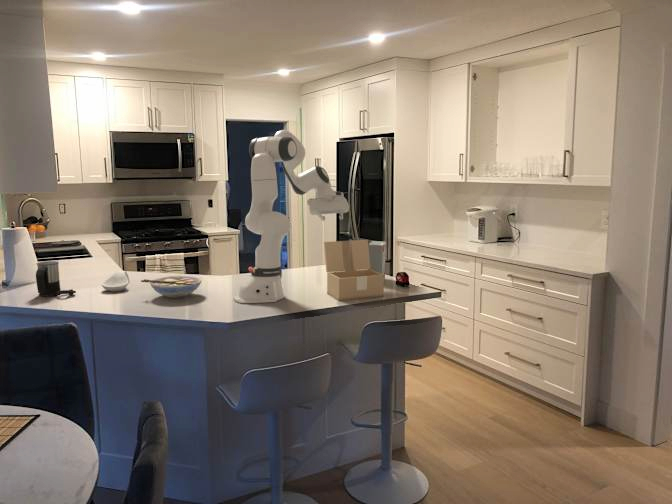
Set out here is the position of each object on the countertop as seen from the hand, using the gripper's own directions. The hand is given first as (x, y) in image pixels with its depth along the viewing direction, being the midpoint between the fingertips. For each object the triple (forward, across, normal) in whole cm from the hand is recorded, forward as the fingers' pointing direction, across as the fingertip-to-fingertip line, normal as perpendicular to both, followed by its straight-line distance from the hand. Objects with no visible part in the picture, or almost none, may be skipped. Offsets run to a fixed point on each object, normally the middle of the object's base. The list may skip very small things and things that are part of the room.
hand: (332, 219), depth 273 cm
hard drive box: (+27, +21, +20) cm, 39 cm away
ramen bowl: (+25, -77, +16) cm, 83 cm away
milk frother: (+11, -129, +28) cm, 132 cm away
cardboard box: (+43, 0, +1) cm, 43 cm away
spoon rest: (+6, -103, +34) cm, 109 cm away
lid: (+25, 0, -4) cm, 25 cm away
